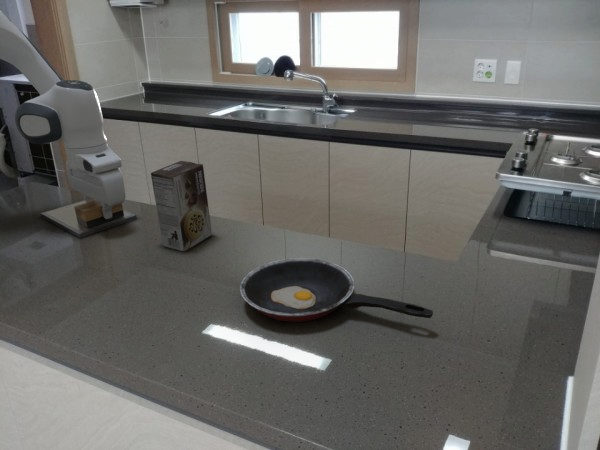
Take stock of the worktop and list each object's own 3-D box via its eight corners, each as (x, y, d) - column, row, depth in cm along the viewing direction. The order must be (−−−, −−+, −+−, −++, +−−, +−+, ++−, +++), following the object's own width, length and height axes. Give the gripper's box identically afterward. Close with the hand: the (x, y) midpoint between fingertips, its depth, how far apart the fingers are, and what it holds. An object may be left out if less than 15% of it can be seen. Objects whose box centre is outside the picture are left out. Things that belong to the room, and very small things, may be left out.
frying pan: (278, 265, 101) (277, 247, 100) (447, 303, 87) (449, 282, 85) (218, 314, 86) (216, 294, 85) (411, 370, 72) (412, 347, 70)
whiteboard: (41, 217, 130) (40, 212, 129) (95, 200, 139) (94, 196, 139) (80, 238, 117) (79, 233, 117) (136, 218, 126) (136, 214, 126)
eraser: (77, 222, 123) (73, 206, 121) (113, 211, 128) (110, 195, 127) (87, 228, 119) (83, 211, 118) (124, 215, 125) (121, 199, 124)
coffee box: (190, 230, 119) (181, 159, 112) (213, 235, 116) (204, 163, 109) (160, 246, 112) (149, 172, 105) (184, 252, 108) (173, 176, 102)
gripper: (54, 152, 123) (67, 208, 128) (97, 167, 109) (110, 229, 115) (80, 146, 127) (92, 201, 132) (125, 160, 114) (136, 220, 119)
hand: (100, 214), depth 123 cm, fingers closed on eraser, 5 cm apart
